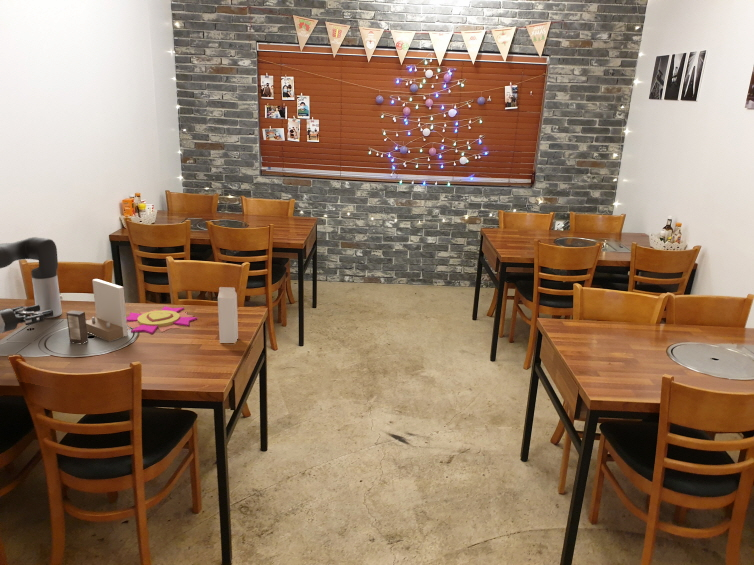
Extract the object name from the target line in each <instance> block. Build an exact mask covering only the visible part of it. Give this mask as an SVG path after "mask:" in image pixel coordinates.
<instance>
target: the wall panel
mask: <svg viewBox="0 0 754 565" xmlns="http://www.w3.org/2000/svg"><path fill="white" fill-rule="evenodd" d="M91 282H92V290H93V300H94V306H95V307H94V308H95V316H92V317H91V318H90V319H86V327H87V332H89V333H92V334H94V335H96V336H98V337H97V338H99V337H101V338H100V339H102V338H103V339H102V340H104V339H105V340H104V341H107V342H109V341H110V342H112V340H113V341H116V340H119V339H121V337H122V338H124V336H125V337H128V336H129V333H128V332H129V331H128V325H127V323H128V321H127V319H126V317H127V309H126V301H125V300H126V299H125V289H124V288H125V287H124V286H121V285H118V284H115V283H111V282H108V281H105V280H102V279H98V278H94V279H92V281H91ZM89 333H88V334H89ZM94 335H93V336H94ZM127 335H128V336H127ZM96 336H95V337H96ZM118 338H119V339H118ZM115 339H116V340H115Z"/></svg>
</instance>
